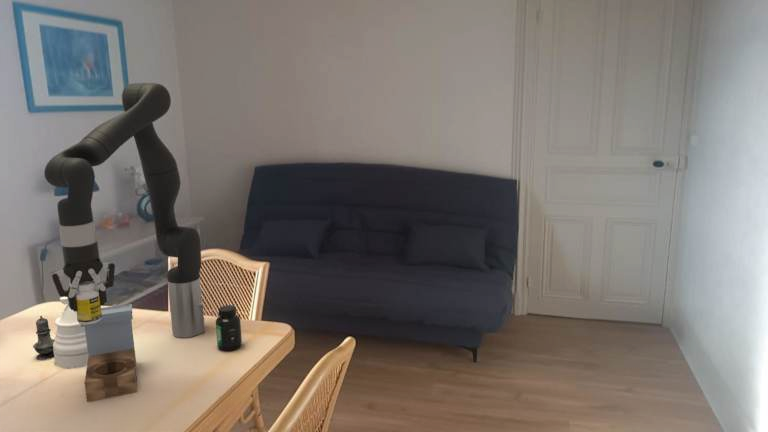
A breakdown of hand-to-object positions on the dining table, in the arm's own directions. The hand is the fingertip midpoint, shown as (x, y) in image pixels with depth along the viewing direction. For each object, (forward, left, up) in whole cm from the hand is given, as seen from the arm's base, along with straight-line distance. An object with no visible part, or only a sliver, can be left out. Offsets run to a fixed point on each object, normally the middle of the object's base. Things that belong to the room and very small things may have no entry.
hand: (88, 307), depth 138 cm
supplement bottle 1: (0, 0, -4) cm, 4 cm away
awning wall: (-3, -7, -21) cm, 22 cm away
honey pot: (+5, -19, -21) cm, 29 cm away
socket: (-3, 0, -21) cm, 21 cm away
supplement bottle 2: (-34, -8, -21) cm, 41 cm away
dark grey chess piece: (+14, -24, -21) cm, 35 cm away
